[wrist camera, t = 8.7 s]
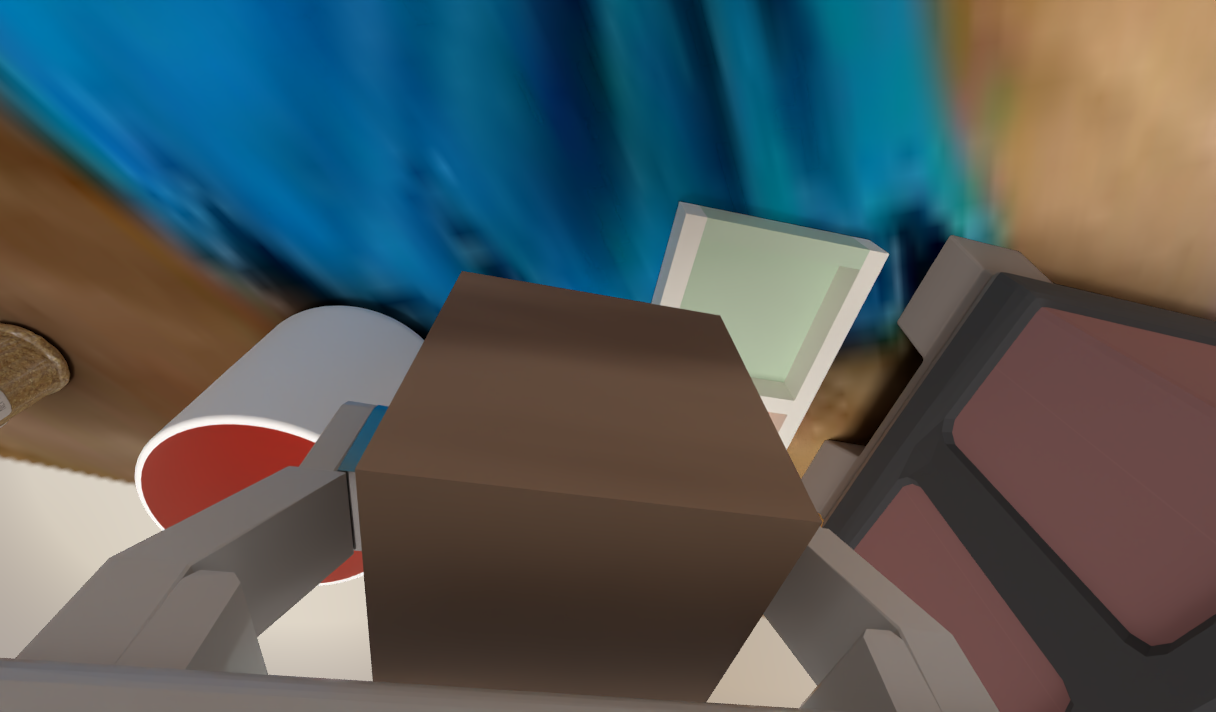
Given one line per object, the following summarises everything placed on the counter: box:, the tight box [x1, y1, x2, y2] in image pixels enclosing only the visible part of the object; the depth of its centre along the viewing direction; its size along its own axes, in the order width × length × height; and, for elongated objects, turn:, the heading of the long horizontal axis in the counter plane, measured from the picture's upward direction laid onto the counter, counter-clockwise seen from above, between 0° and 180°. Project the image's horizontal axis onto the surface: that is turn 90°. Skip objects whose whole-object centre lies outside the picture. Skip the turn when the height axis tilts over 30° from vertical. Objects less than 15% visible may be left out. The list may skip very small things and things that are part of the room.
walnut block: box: [355, 271, 822, 702], centre depth 9 cm, size 5×5×5 cm
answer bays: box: [651, 201, 889, 450], centre depth 28 cm, size 19×10×2 cm, turn 168°
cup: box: [135, 306, 424, 586], centre depth 24 cm, size 10×10×10 cm
